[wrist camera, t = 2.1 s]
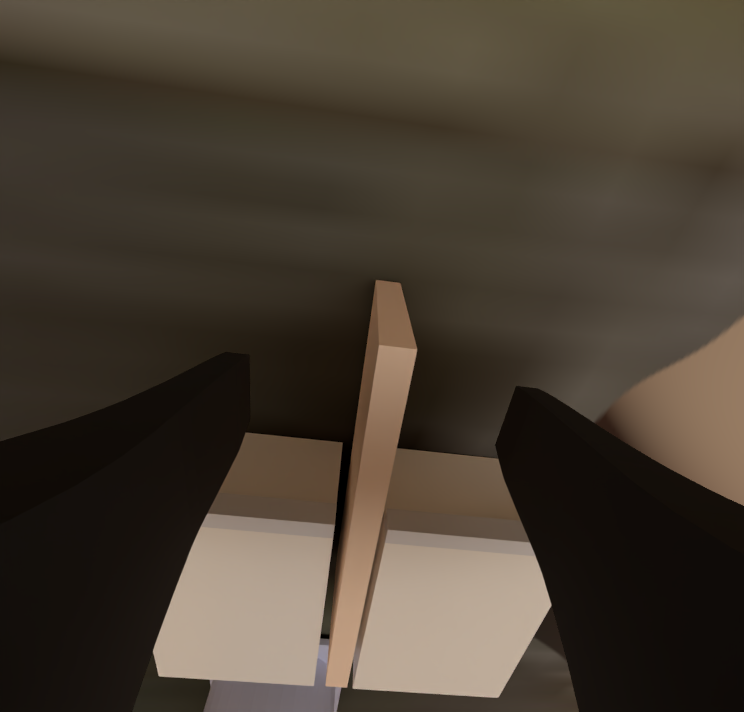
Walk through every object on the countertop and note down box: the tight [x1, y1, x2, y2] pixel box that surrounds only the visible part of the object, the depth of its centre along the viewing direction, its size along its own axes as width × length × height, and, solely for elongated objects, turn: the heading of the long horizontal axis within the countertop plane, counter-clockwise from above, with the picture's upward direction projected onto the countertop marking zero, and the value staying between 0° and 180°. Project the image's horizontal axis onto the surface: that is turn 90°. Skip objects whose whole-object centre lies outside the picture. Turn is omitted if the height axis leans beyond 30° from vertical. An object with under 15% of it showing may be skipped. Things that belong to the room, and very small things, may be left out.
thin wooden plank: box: [325, 280, 417, 688], centre depth 13 cm, size 14×1×5 cm, turn 172°
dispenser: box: [153, 433, 551, 698], centre depth 16 cm, size 10×14×4 cm
